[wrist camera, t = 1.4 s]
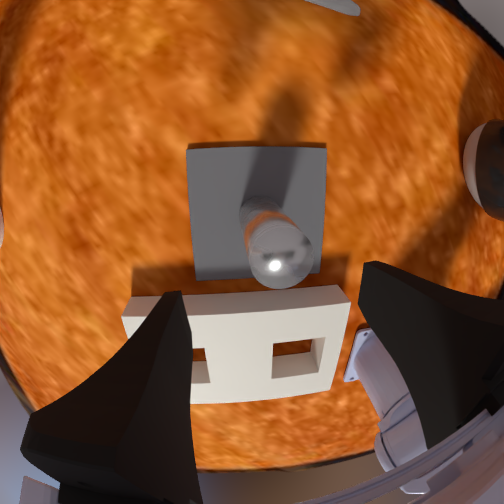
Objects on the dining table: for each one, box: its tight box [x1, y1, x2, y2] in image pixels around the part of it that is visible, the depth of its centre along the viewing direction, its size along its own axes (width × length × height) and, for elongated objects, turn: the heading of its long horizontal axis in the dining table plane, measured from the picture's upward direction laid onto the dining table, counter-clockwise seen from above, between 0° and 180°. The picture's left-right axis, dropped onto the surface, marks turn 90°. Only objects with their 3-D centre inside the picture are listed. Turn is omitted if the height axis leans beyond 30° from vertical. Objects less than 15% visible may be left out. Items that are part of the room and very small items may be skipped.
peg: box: [239, 195, 314, 289], centre depth 16 cm, size 3×3×8 cm
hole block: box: [121, 285, 351, 404], centre depth 23 cm, size 18×11×3 cm, turn 91°
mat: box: [186, 147, 327, 281], centre depth 20 cm, size 10×10×1 cm
